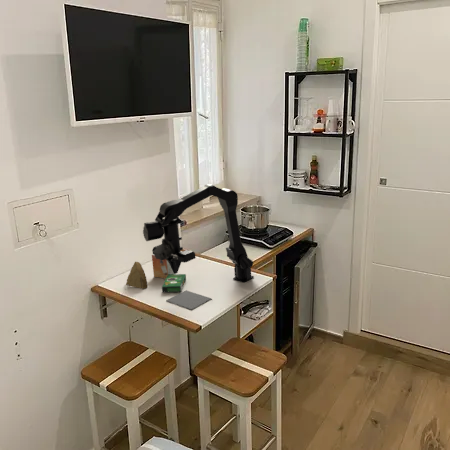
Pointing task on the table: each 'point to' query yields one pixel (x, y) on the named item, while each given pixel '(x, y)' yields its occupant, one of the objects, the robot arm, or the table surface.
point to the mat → (188, 300)
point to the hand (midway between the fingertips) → (175, 273)
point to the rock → (137, 277)
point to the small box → (161, 268)
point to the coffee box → (174, 283)
